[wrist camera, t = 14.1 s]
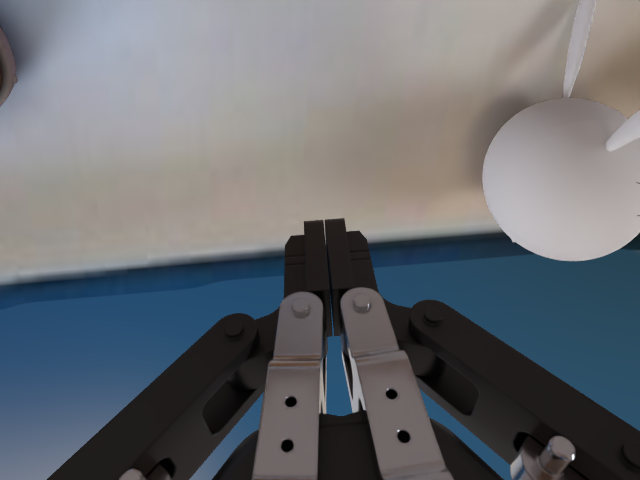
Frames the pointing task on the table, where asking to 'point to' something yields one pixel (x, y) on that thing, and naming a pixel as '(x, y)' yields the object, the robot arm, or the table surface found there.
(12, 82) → the flowerpot
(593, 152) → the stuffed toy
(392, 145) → the table surface
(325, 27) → the table surface
